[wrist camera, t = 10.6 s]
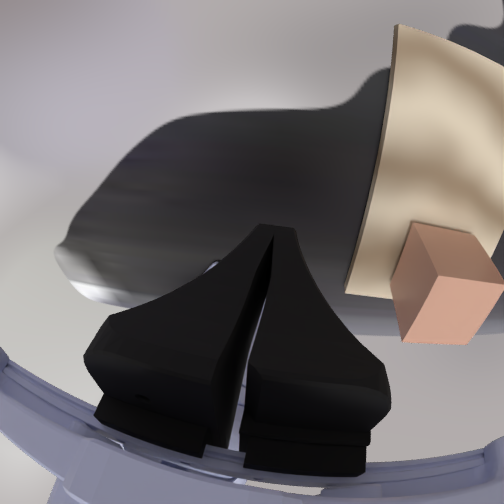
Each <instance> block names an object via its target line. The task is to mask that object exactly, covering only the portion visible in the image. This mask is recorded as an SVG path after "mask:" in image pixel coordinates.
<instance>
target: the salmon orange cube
mask: <svg viewBox="0 0 504 504" xmlns="http://www.w3.org/2000/svg"><path fill="white" fill-rule="evenodd" d="M390 289H391V293H392V297H393V301H394V306H395V310H396V315H397V320H398V325H399V330H400V335H401V339H402V342H409V343H427V344H455V345H456V344H457V345H467V344H468V342H469V341H470V340H471V338H472V337H473V336H474V334H475V333H476V332H477V330H478V329H479V327H480V326H481V325H482V323H483V322H484V320H485V319H486V317H487V316H488V314H489V313H490V311H491V310H492V308H493V307H494V305H495V303H496V302H497V300H498V299H499V297H500V295H501V294H502V292H503V290H504V280H503V278H502V276H501V275H500V273H499V271H498V270H497V268H496V267H495V265H494V263H493V262H492V260H491V259H490V257H489V256H488V254H487V253H486V251H485V250H484V248H483V247H482V245H481V244H480V242H479V241H478V239H477V238H476V236H475V235H471V234H467V233H462V232H458V231H453V230H448V229H444V228H439V227H434V226H429V225H424V224H419V223H412V226H411V229H410V232H409V235H408V238H407V241H406V244H405V247H404V249H403V252H402V255H401V257H400V260H399V263H398V265H397V268H396V270H395V273H394V275H393V278H392V280H391V283H390Z"/></svg>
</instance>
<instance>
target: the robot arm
mask: <svg viewBox="0 0 504 504" xmlns="http://www.w3.org/2000/svg"><path fill="white" fill-rule="evenodd" d="M83 357H84V363H85V366H86V367H87V370H88V372H89V373H90V375H91V376H92V377H93V379H94V380H95V382H96V383H97V385H98V386H99V387H100V389H101V390H102V391H103V393H104V394H103V396H102V399H101V400H100V403H99V404H98V407H96V406H93V405H91V404H89V403H87V402H84V401H83V400H80V399H78V398H76V397H74V396H72V395H70V394H68V393H66V392H64V391H62V390H60V389H59V388H57V387H55V386H53V385H51V384H49V383H48V382H46V381H44V380H42V379H41V378H39V377H37V376H35V375H34V374H32V373H30V372H29V371H27V370H26V369H24V368H22V367H20V366H19V365H18V364H16V363H15V362H13V361H11V360H10V359H9V357H8V356H7V354H6V353H5V352H4V350H3V349H2V348H1V347H0V432H1V433H3V435H4V436H6V437H7V438H8V439H9V440H10V441H11V442H12V443H14V444H15V445H16V446H17V447H18V448H20V449H21V450H22V451H23V452H24V453H25V454H27V455H28V456H29V457H31V458H32V459H33V460H34V461H36V462H37V463H38V464H40V465H41V466H42V467H44V468H45V469H47V470H48V471H49V472H51V473H52V474H54V475H55V476H57V479H56V482H55V484H54V487H53V489H52V492H51V494H50V497H49V500H48V502H47V504H504V436H503V437H500V438H498V439H496V440H494V441H492V442H491V443H490V444H488V445H487V446H485V448H482V449H477V450H473V451H468V452H463V453H458V454H453V455H447V456H440V457H434V458H426V459H417V460H406V461H395V462H394V461H393V462H370V463H369V462H368V463H366V446H368V445H370V442H371V429H372V428H374V427H375V426H376V425H377V424H378V423H379V422H380V421H381V420H382V419H383V418H384V417H385V416H386V415H387V414H388V412H389V411H390V409H391V392H390V386H389V382H388V377H387V374H386V369H385V366H384V364H383V363H382V362H381V361H380V360H379V359H378V358H377V357H375V356H374V355H373V354H372V353H371V352H370V351H369V350H368V349H367V348H366V347H364V346H363V345H362V344H361V343H360V342H359V341H358V340H357V339H356V338H355V336H354V335H353V334H352V333H351V332H350V331H349V330H348V329H347V328H346V326H345V325H344V324H343V323H342V321H341V320H340V319H339V318H338V316H337V315H336V314H335V313H334V311H333V310H332V308H331V307H330V306H329V304H328V303H327V301H326V300H325V298H324V297H323V295H322V293H321V292H320V290H319V288H318V287H317V285H316V283H315V281H314V279H313V277H312V275H311V273H310V271H309V269H308V267H307V265H306V262H305V260H304V257H303V255H302V252H301V249H300V246H299V243H298V239H297V234H296V231H295V229H294V228H288V227H281V226H274V225H266V224H259V225H257V226H256V227H255V228H254V229H253V231H252V232H251V233H250V234H249V235H248V236H247V237H246V238H245V239H244V240H243V241H242V242H241V243H240V244H239V245H238V246H237V247H236V248H235V249H234V250H233V251H231V252H230V253H229V254H228V255H227V256H226V257H224V258H223V259H222V260H221V261H220V262H214V263H213V264H212V265H211V266H210V267H209V268H208V269H207V270H206V271H205V272H204V273H203V274H202V275H201V276H199V277H198V278H196V279H194V280H193V281H191V282H189V283H187V284H186V285H184V286H182V287H180V288H178V289H176V290H174V291H173V292H171V293H168V294H166V295H164V296H162V297H160V298H157V299H155V300H153V301H150V302H148V303H145V304H142V305H140V306H137V307H134V308H131V309H128V310H125V311H122V312H119V313H116V314H112V315H109V317H108V318H107V319H106V320H105V322H104V323H103V325H102V326H101V327H100V329H99V331H98V332H97V334H96V336H95V338H94V339H93V340H92V342H91V344H90V345H89V347H88V349H87V350H86V352H85V354H84V355H83ZM247 480H252V481H258V482H265V483H272V484H281V485H292V486H303V487H321V488H324V489H323V490H322V491H321V494H319V495H315V496H311V495H302V494H294V493H287V492H283V491H277V490H271V489H264V488H259V487H254V486H248V485H245V483H246V481H247Z"/></svg>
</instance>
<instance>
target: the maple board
mask: <svg viewBox="0 0 504 504" xmlns="http://www.w3.org/2000/svg"><path fill="white" fill-rule="evenodd" d="M412 223H419V224H424V225H429V226H434V227H439V228H444V229H448V230H453V231H458V232H462V233H467V234H471V235H475V236H476V238H477V239H478V241H479V242H480V244H481V245H482V247H483V248H484V250H485V251H486V253H487V254H488V256H489V257H490V258H491V256H492V254H493V252H494V250H495V248H496V246H497V243H498V241H499V239H500V237H501V235H502V232H503V230H504V67H503V66H501V65H499V64H497V63H495V62H494V61H492V60H490V59H488V58H486V57H484V56H482V55H480V54H478V53H476V52H473V51H471V50H469V49H467V48H465V47H462V46H460V45H458V44H455V43H453V42H450V41H448V40H445V39H443V38H440V37H437V36H435V35H432V34H429V33H427V32H423V31H421V30H417V29H415V28H411V27H408V26H404V25H401V24H397V25H395V26H394V37H393V51H392V62H391V70H390V79H389V87H388V94H387V102H386V108H385V115H384V121H383V127H382V133H381V139H380V144H379V149H378V155H377V160H376V165H375V169H374V174H373V179H372V183H371V188H370V192H369V197H368V201H367V205H366V209H365V213H364V217H363V221H362V225H361V229H360V233H359V236H358V240H357V244H356V247H355V251H354V254H353V258H352V261H351V265H350V268H349V271H348V275H347V278H346V281H345V284H344V287H345V293H348V294H355V295H363V296H372V297H380V298H388V299H393V297H392V293H391V289H390V283H391V280H392V278H393V275H394V273H395V270H396V268H397V265H398V263H399V260H400V257H401V255H402V252H403V249H404V247H405V244H406V241H407V238H408V235H409V232H410V229H411V226H412Z"/></svg>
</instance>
